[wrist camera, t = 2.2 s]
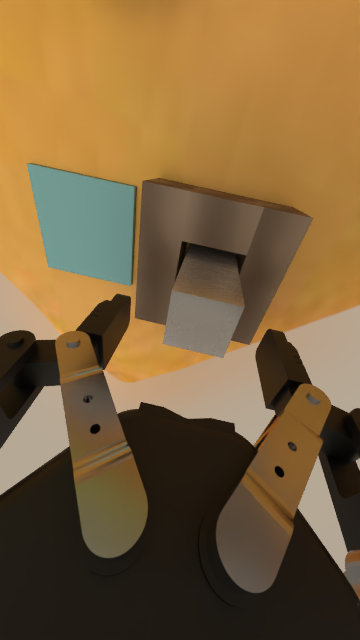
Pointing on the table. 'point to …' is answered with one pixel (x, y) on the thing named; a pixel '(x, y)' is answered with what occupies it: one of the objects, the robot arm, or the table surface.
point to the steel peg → (205, 302)
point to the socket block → (213, 245)
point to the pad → (85, 223)
